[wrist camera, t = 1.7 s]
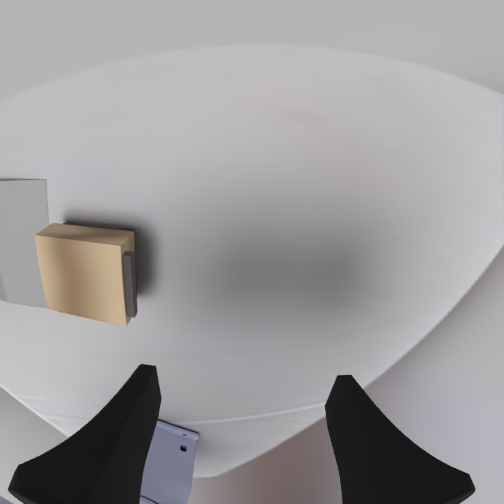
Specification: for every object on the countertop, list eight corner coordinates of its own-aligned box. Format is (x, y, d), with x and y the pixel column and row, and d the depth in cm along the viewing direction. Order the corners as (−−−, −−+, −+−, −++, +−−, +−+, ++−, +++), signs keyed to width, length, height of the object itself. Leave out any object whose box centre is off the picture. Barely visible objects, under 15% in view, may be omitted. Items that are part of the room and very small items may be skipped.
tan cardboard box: (148, 226, 18) (129, 247, 15) (148, 298, 20) (134, 327, 17) (62, 217, 17) (34, 234, 14) (69, 284, 19) (47, 308, 16)
